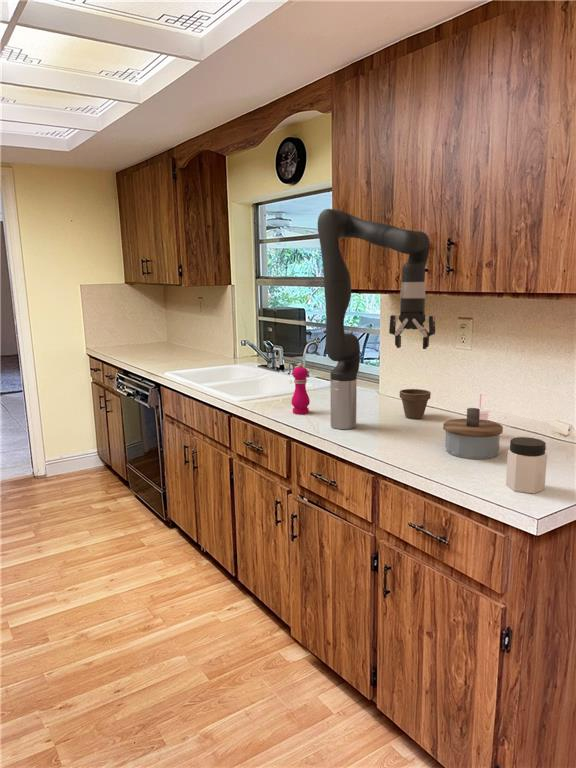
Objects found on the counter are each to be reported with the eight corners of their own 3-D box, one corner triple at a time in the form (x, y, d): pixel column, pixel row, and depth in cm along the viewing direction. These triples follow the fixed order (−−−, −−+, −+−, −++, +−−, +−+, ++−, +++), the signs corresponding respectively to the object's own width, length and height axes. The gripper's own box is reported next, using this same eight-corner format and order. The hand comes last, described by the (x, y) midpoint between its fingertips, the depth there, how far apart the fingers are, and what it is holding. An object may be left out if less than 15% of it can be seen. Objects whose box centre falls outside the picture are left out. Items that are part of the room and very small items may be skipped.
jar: (529, 496, 136) (532, 448, 134) (500, 486, 143) (502, 440, 141) (550, 488, 141) (553, 441, 139) (520, 479, 148) (523, 434, 146)
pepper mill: (299, 415, 220) (298, 364, 217) (288, 412, 226) (287, 362, 222) (313, 412, 224) (313, 363, 221) (302, 409, 230) (301, 361, 227)
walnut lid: (436, 422, 179) (437, 403, 178) (490, 421, 179) (491, 402, 178) (452, 437, 162) (453, 416, 161) (511, 436, 162) (513, 415, 161)
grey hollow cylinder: (440, 444, 179) (441, 423, 178) (488, 444, 179) (489, 422, 178) (453, 459, 164) (454, 436, 163) (505, 459, 164) (506, 435, 163)
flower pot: (417, 412, 222) (418, 387, 221) (436, 418, 212) (437, 392, 210) (392, 415, 218) (393, 390, 216) (410, 422, 208) (411, 395, 206)
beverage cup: (489, 438, 186) (492, 396, 183) (470, 437, 187) (472, 395, 184) (486, 433, 192) (488, 392, 189) (468, 432, 193) (469, 392, 190)
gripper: (438, 296, 177) (437, 348, 180) (395, 296, 184) (394, 346, 187) (431, 297, 170) (430, 350, 173) (386, 297, 178) (386, 348, 181)
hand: (411, 348), depth 180 cm, fingers open, 8 cm apart
